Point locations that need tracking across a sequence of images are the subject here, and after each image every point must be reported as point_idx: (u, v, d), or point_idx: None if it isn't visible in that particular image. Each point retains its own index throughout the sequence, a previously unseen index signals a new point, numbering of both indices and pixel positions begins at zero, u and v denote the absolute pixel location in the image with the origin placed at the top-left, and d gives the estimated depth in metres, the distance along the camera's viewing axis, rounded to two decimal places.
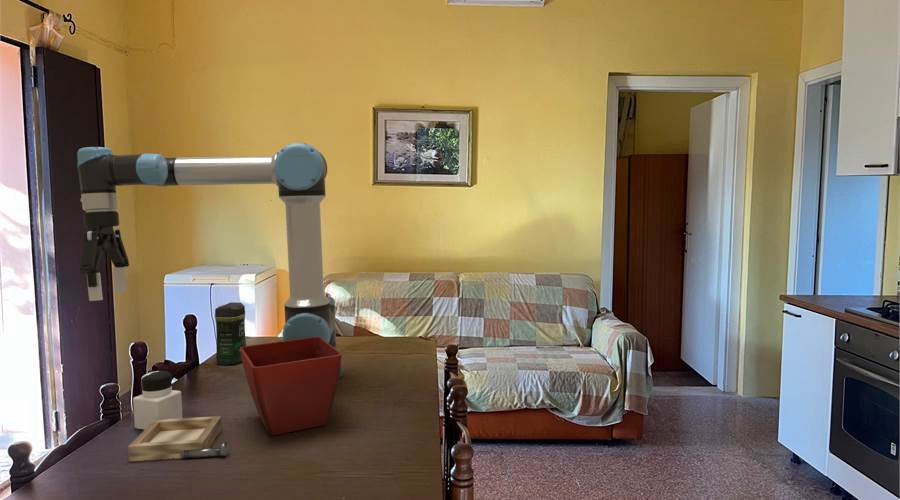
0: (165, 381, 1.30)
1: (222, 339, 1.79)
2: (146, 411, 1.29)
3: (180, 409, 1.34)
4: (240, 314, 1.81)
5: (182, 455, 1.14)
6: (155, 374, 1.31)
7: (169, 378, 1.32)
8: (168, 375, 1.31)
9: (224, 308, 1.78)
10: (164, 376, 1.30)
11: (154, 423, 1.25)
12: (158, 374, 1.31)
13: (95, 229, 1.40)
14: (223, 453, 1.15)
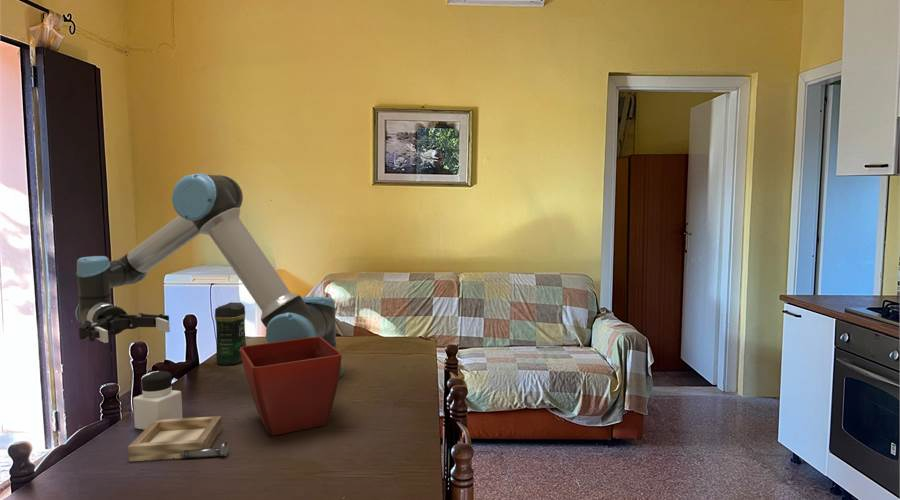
0: (165, 381, 1.30)
1: (222, 339, 1.79)
2: (146, 412, 1.29)
3: (180, 409, 1.34)
4: (240, 314, 1.81)
5: (182, 455, 1.14)
6: (155, 374, 1.31)
7: (169, 378, 1.32)
8: (168, 375, 1.31)
9: (224, 308, 1.78)
10: (164, 376, 1.30)
11: (154, 423, 1.25)
12: (158, 374, 1.31)
13: (97, 323, 1.46)
14: (223, 453, 1.15)
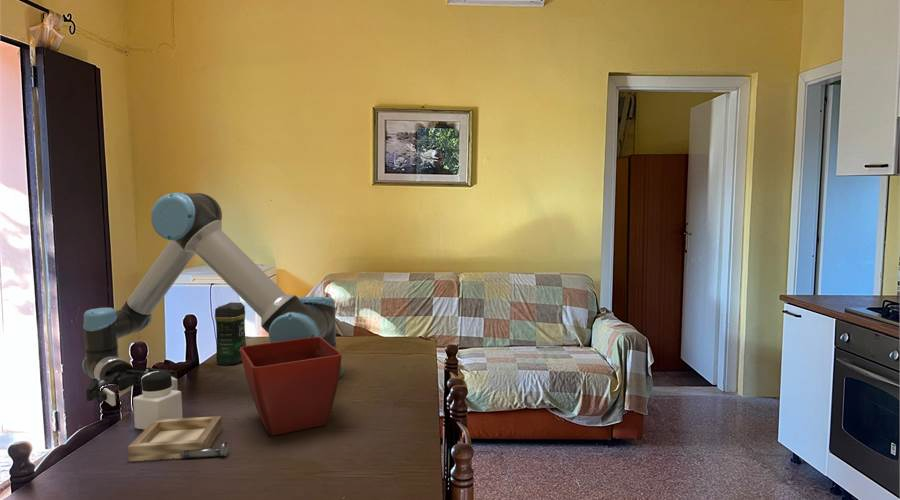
0: (165, 381, 1.30)
1: (222, 339, 1.79)
2: (146, 411, 1.29)
3: (180, 409, 1.34)
4: (240, 314, 1.81)
5: (182, 455, 1.14)
6: (155, 374, 1.31)
7: (169, 378, 1.32)
8: (168, 375, 1.31)
9: (224, 308, 1.78)
10: (164, 376, 1.30)
11: (154, 423, 1.25)
12: (158, 374, 1.31)
13: None
14: (223, 453, 1.15)
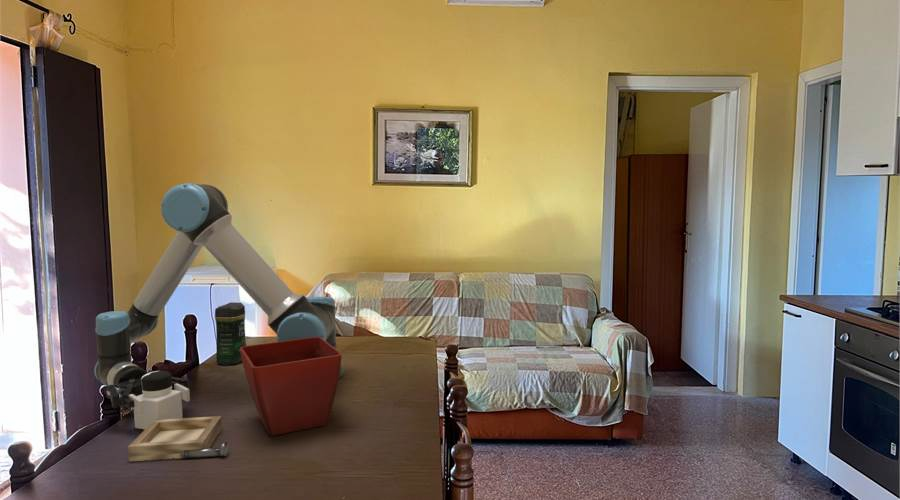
0: (165, 381, 1.30)
1: (222, 339, 1.79)
2: (146, 411, 1.29)
3: (180, 409, 1.34)
4: (240, 314, 1.81)
5: (182, 455, 1.14)
6: (155, 373, 1.31)
7: (169, 378, 1.32)
8: (168, 375, 1.31)
9: (224, 308, 1.78)
10: (164, 376, 1.30)
11: (154, 423, 1.25)
12: (158, 374, 1.31)
13: None
14: (223, 453, 1.15)
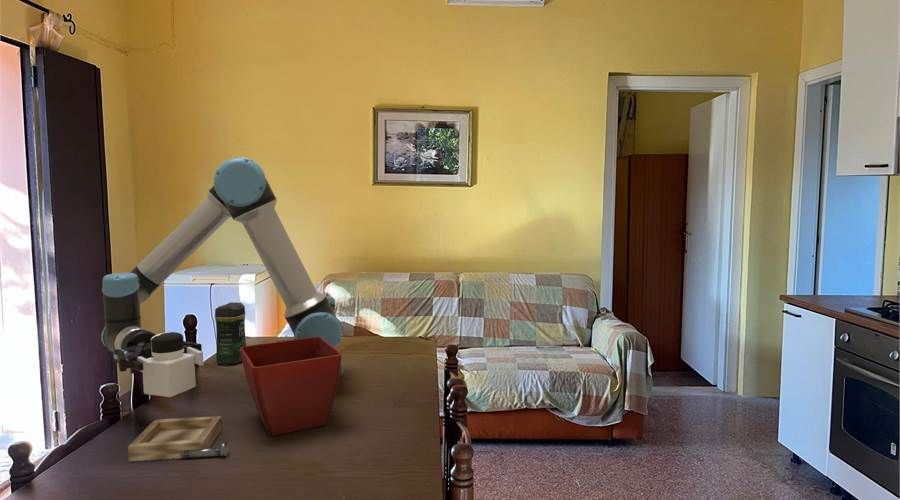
0: (177, 342, 1.19)
1: (222, 339, 1.79)
2: (156, 375, 1.18)
3: (193, 374, 1.23)
4: (240, 314, 1.81)
5: (182, 455, 1.14)
6: (166, 334, 1.20)
7: (181, 339, 1.20)
8: (179, 336, 1.20)
9: (224, 308, 1.78)
10: (175, 337, 1.19)
11: (154, 423, 1.25)
12: (168, 335, 1.19)
13: None
14: (223, 453, 1.15)
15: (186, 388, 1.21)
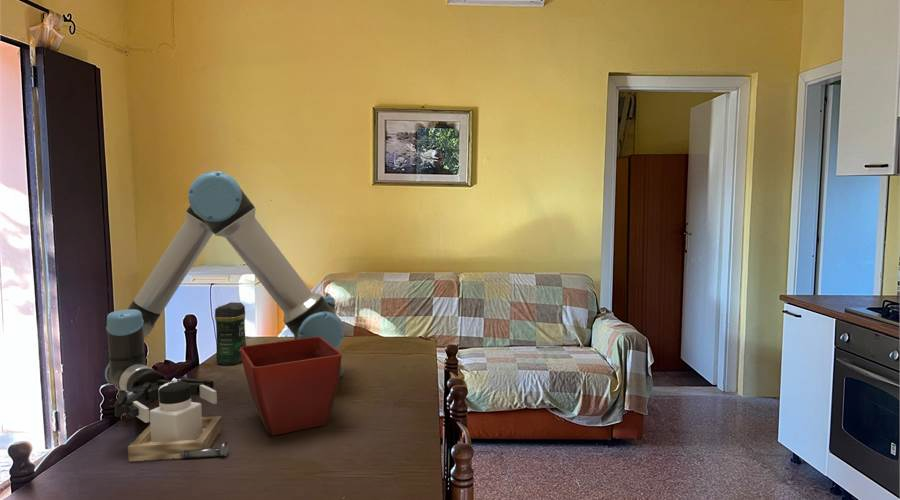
0: (184, 392, 1.19)
1: (222, 339, 1.79)
2: (163, 426, 1.18)
3: (200, 423, 1.23)
4: (240, 314, 1.81)
5: (182, 455, 1.14)
6: (174, 384, 1.20)
7: (188, 389, 1.20)
8: (187, 386, 1.20)
9: (224, 308, 1.78)
10: (183, 387, 1.19)
11: None
12: (176, 385, 1.20)
13: None
14: (223, 453, 1.15)
15: (193, 437, 1.21)
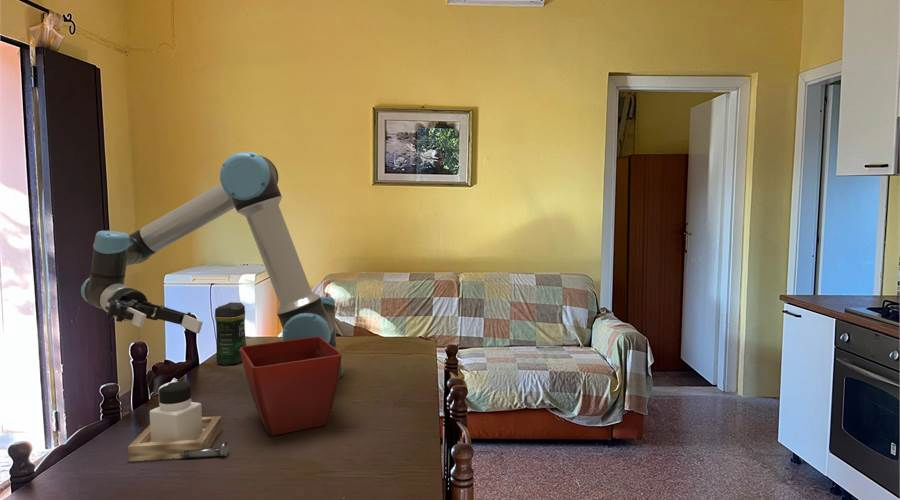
0: (184, 392, 1.19)
1: (222, 339, 1.79)
2: (163, 426, 1.18)
3: (200, 423, 1.23)
4: (240, 314, 1.81)
5: (182, 455, 1.14)
6: (174, 384, 1.20)
7: (188, 389, 1.20)
8: (187, 386, 1.20)
9: (224, 308, 1.78)
10: (183, 387, 1.19)
11: None
12: (176, 385, 1.20)
13: None
14: (223, 453, 1.15)
15: (193, 437, 1.21)
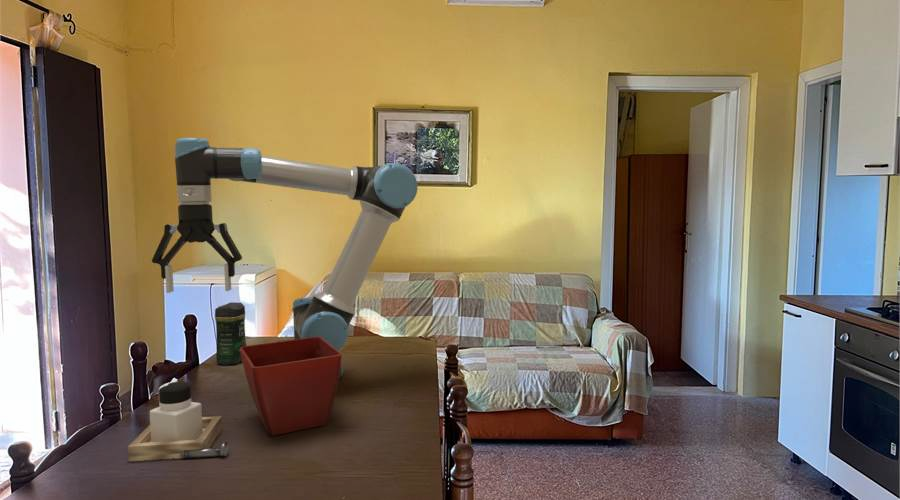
0: (184, 392, 1.19)
1: (222, 339, 1.79)
2: (163, 426, 1.18)
3: (200, 423, 1.23)
4: (240, 314, 1.81)
5: (182, 455, 1.14)
6: (174, 384, 1.20)
7: (188, 389, 1.20)
8: (187, 386, 1.20)
9: (224, 308, 1.78)
10: (183, 387, 1.19)
11: None
12: (176, 385, 1.20)
13: (212, 221, 1.41)
14: (223, 453, 1.15)
15: (193, 437, 1.21)
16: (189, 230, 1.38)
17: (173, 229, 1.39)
